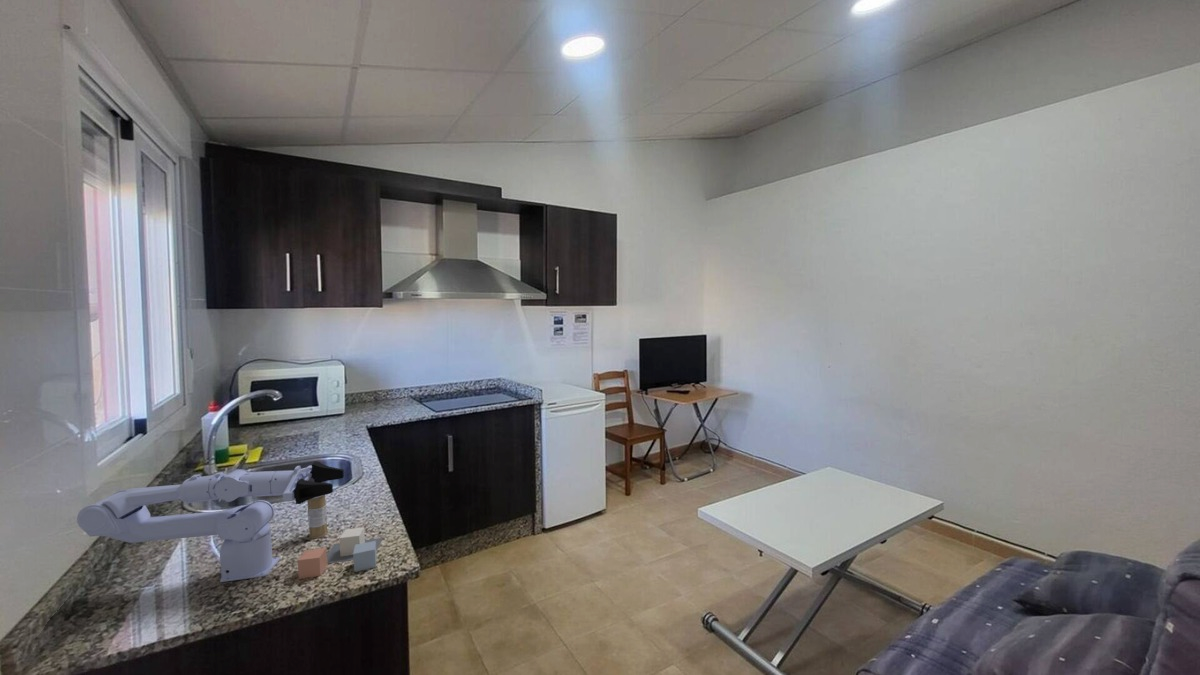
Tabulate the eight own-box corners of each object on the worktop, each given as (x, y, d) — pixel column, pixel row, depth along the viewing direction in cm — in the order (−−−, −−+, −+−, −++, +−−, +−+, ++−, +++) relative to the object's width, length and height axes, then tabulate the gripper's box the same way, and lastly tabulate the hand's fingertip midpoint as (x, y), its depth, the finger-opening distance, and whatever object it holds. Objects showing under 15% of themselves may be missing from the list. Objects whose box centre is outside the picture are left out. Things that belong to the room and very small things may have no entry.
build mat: (320, 565, 113) (320, 564, 113) (334, 545, 123) (334, 544, 123) (373, 558, 116) (373, 557, 116) (382, 539, 126) (382, 537, 126)
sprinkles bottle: (314, 532, 131) (311, 485, 130) (331, 531, 131) (328, 484, 130) (305, 540, 126) (302, 492, 125) (323, 539, 127) (320, 491, 126)
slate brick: (354, 573, 110) (353, 553, 110) (356, 563, 114) (355, 544, 114) (375, 568, 112) (374, 549, 111) (376, 559, 116) (375, 540, 116)
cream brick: (340, 556, 117) (339, 538, 116) (346, 547, 121) (345, 529, 121) (360, 553, 118) (359, 535, 117) (365, 544, 122) (364, 527, 122)
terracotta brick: (298, 580, 108) (297, 560, 107) (306, 569, 112) (305, 550, 112) (320, 577, 109) (319, 557, 108) (327, 566, 113) (326, 547, 113)
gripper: (259, 482, 104) (326, 479, 107) (289, 455, 118) (347, 453, 121) (262, 511, 105) (327, 507, 108) (290, 480, 119) (348, 478, 122)
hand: (338, 480), depth 114 cm, fingers open, 7 cm apart
